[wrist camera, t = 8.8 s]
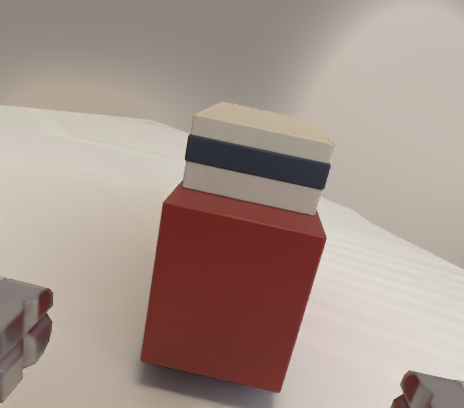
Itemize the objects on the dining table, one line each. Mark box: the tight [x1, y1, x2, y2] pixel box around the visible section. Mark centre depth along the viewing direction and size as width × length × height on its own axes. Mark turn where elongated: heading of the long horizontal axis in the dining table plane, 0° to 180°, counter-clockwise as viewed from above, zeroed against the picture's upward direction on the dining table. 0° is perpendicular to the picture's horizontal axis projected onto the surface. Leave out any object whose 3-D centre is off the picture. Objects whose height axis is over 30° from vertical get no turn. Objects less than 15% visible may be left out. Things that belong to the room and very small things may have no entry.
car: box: [140, 102, 334, 393], centre depth 18 cm, size 13×5×10 cm, turn 175°
